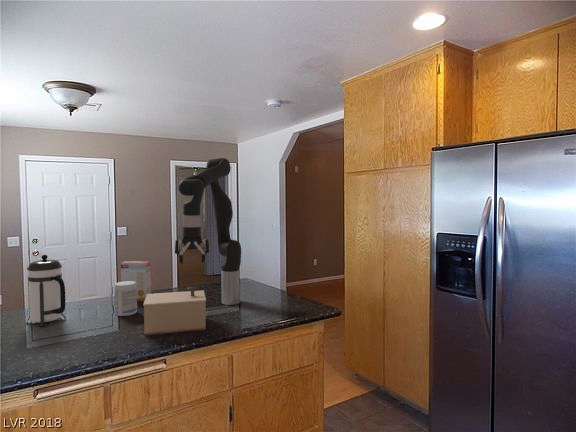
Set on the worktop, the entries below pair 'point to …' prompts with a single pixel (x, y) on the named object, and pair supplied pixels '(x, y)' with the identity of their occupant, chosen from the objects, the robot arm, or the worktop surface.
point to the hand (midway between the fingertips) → (192, 263)
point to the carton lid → (175, 297)
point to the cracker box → (138, 276)
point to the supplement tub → (125, 298)
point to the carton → (174, 318)
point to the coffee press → (45, 291)
